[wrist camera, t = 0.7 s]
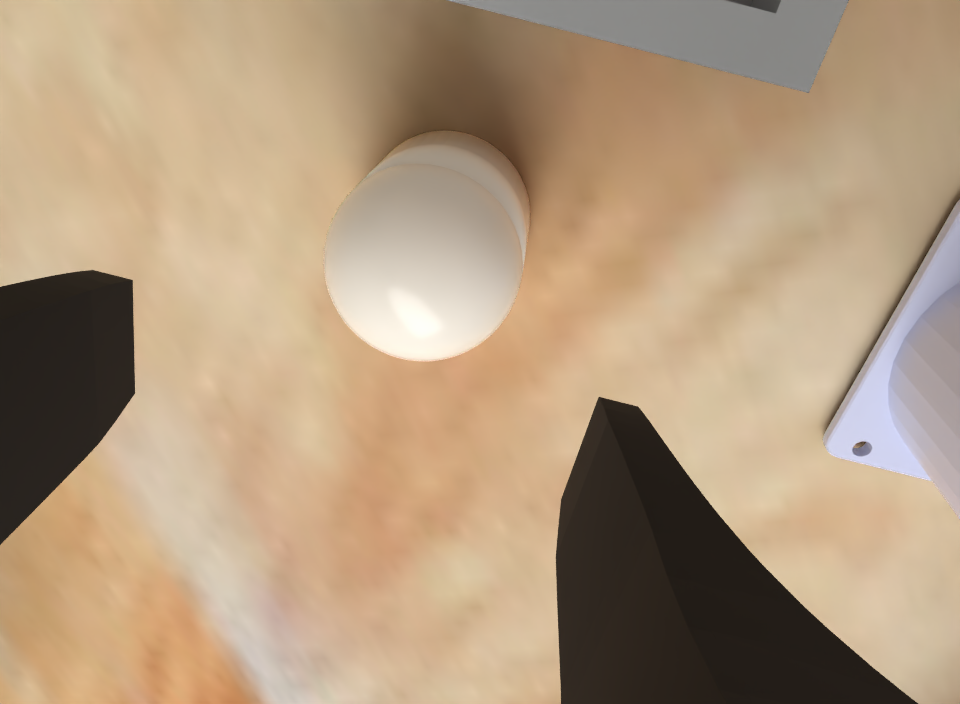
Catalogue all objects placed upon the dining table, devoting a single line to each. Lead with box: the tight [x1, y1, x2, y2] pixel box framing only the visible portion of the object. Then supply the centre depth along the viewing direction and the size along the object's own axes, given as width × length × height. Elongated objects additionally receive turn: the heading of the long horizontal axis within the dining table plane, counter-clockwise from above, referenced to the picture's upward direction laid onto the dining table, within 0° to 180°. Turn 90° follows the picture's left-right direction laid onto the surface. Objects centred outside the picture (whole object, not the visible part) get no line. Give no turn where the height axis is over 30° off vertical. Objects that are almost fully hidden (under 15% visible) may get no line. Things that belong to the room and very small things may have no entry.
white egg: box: [323, 130, 530, 361], centre depth 16 cm, size 4×4×6 cm
